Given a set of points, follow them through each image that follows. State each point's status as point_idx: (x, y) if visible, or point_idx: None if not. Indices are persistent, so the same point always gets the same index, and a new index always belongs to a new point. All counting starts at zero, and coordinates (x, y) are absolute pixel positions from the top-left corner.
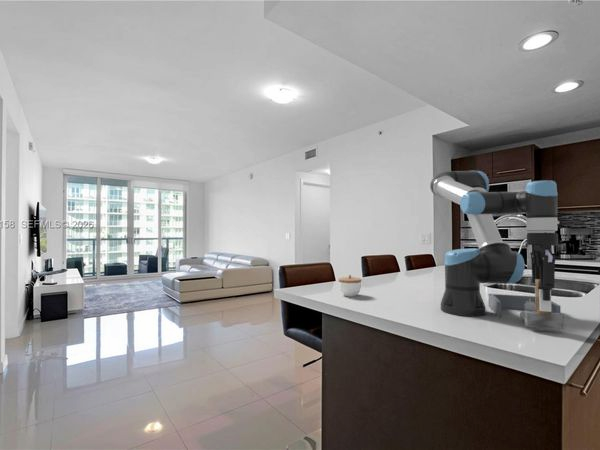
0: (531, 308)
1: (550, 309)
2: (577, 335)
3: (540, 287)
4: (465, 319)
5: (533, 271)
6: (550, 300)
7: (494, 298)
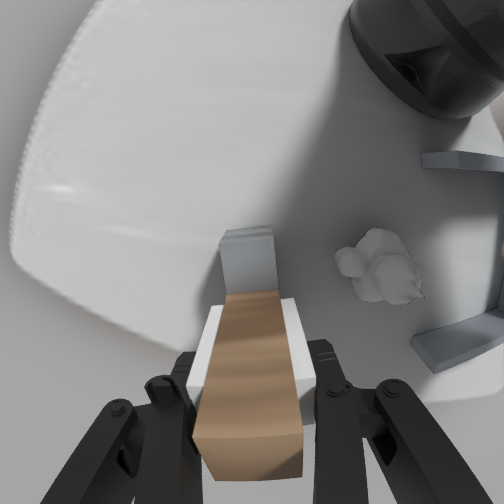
0: (374, 282)
1: None
2: None
3: (149, 393)
4: (300, 27)
5: (419, 469)
6: None
7: (501, 160)
